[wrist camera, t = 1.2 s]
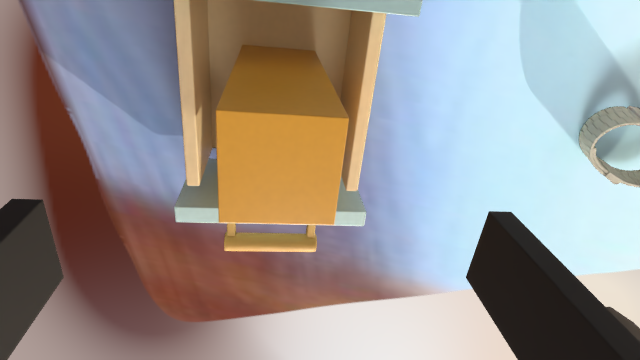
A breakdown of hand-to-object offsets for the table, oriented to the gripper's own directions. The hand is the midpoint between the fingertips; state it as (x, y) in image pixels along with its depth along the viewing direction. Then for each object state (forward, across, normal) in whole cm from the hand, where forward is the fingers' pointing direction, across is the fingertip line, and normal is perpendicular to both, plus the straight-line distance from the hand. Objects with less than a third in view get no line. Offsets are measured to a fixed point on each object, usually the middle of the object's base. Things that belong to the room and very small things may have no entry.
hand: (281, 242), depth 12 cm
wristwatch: (+21, +31, -3) cm, 37 cm away
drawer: (+19, 0, -1) cm, 20 cm away
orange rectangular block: (+18, 0, 0) cm, 18 cm away
